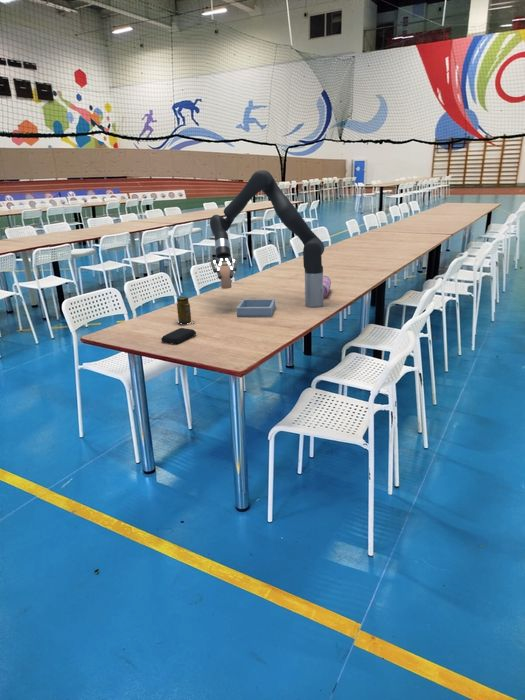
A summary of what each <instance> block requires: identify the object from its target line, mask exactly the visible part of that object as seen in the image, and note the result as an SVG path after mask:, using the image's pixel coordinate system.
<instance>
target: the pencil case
mask: <svg viewBox="0 0 525 700" xmlns="http://www.w3.org/2000/svg"><path fill="white" fill-rule="evenodd" d="M331 285H332V282H331V278H330V277H328V276H327V275H323V299H324V298H325V297H327V296H328V295H329V292H330V290H331Z"/></svg>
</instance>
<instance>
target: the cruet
mask: <svg viewBox="0 0 525 700" xmlns="http://www.w3.org/2000/svg"><path fill="white" fill-rule="evenodd" d="M219 267H220V276H221V279H220V289H223V290H224V289H225V290H227V289H231V288H232V287H233V286H232V279H231V272H230V265H228V264H227V262H222V265H220V266H219Z"/></svg>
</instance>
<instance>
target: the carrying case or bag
mask: <svg viewBox="0 0 525 700" xmlns="http://www.w3.org/2000/svg"><path fill="white" fill-rule="evenodd" d="M192 336H193V337H195V336H197V332H196V331H195V330H194V329H192V328H191V329H190V328H185V327H178V328H176V329H174V330H172V331H171V332H168V333H166V334H163V336H162V337H161V339H160V340H161V342H163V343H164V342H167V343H166V344H170V343H173V344H172V345H179V344H181V343H183V342H185V341H187V340H189V339H191V338H193V337H192ZM190 337H191V338H190ZM178 343H179V344H178Z"/></svg>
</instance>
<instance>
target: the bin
mask: <svg viewBox="0 0 525 700" xmlns="http://www.w3.org/2000/svg"><path fill="white" fill-rule="evenodd" d="M275 309H277V307H276V299H275V298H271V299H270V298H269V299H267V298H263V299H262V298H258V299H256V298H255V299H253V298H252V299H251V298H249V299H247V298H246V299H244V298H243V299H241V301H240V302H239V304H238V305H237V307H236V316H237V318H272V316H273V314H274V313H275Z"/></svg>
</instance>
